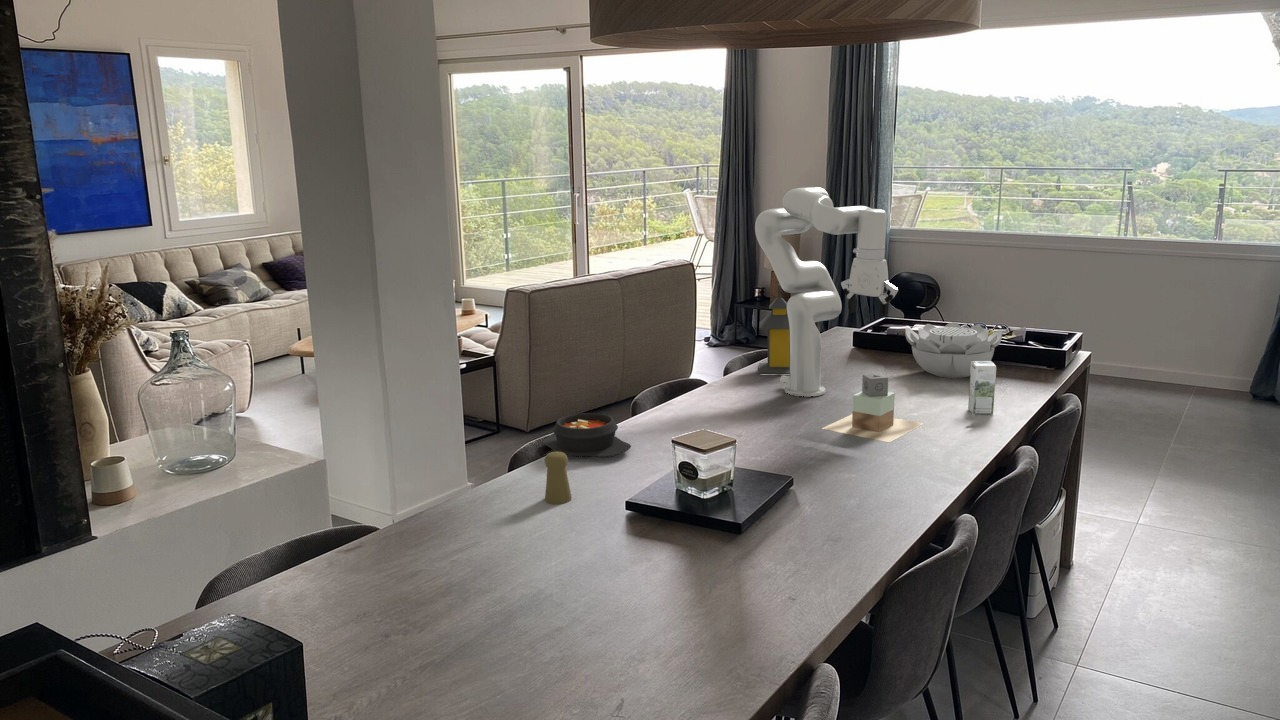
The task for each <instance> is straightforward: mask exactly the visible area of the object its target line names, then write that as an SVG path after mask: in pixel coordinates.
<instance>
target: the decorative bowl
mask: <svg viewBox="0 0 1280 720" xmlns="http://www.w3.org/2000/svg"><path fill="white" fill-rule="evenodd" d="M904 333H905V334H904V335H905V339H906V341H907V342H908V343H909V344H910V346H911V350H912V355H913V356H912V357H913V358H914V360H915V362H916V363H917V365H918V366H919V367H921V368H922V369H923V370H924V371H926V372H927V373H930V374H931V375H934V376H937V377H940V378H946V379H963V378H968V377H970V368H971V361H991V362H992V359H993V356H994V354H995V353H994V352H995V348H996V347H998V346H999V345H1000V343H1002V339H1003V329H998V330H996V331H995V332H993V333H991V334H990V335H989V333H990V332H989V329H984V328H983V326H981V325H980V324H977V325H973V326H971V327H969V328H967V327H962V326H961V325H960V324H959V323H957V322H954V321H952V322H949V323H947V324H945V326H941V327H936V326H935V325H933V324H930V323H927V324H925V325H924V326H923V327H922V328H921V327H918V332H915V331H914V330H913V329H911V328H910V327H907V326H905V332H904Z"/></svg>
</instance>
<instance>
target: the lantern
mask: <svg viewBox="0 0 1280 720" xmlns="http://www.w3.org/2000/svg"><path fill="white" fill-rule="evenodd" d="M787 303H788V301H786V300H785V299H784V298H783V297H782V287H781V285H780V283H778V284H777V297H776V298H775V299H774V300H773V301H772V302H770V304H769V306H768V309H769V310H770V309H771V311H770V312H769V313H768V314H767V315H766V316H765V317H764V318H763V319H762V320H760V321H759V326H758V328H759V329H760V330H767V362H759V363H758V375H759V374H790V327H789V320H788V314H787Z"/></svg>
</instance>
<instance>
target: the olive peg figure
mask: <svg viewBox="0 0 1280 720" xmlns="http://www.w3.org/2000/svg"><path fill="white" fill-rule="evenodd" d="M568 462H569V459H568V455H566V454H565V453H563V452H555V451H551V452H549V453H547V454H546V455H545V457H544V465H545V467H546V468H547V471H546V482H545V484H546V485H545V495H544V501H545V502H546V503H548V504H551V505H562V504H567V503H569V502H570V501H572V493H571V488H570V484H569V478H568V472H567V471H568V470H567V468H566V467H567V465H568Z"/></svg>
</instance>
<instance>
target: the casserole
mask: <svg viewBox="0 0 1280 720" xmlns="http://www.w3.org/2000/svg"><path fill="white" fill-rule="evenodd" d="M618 429H619V426H618V425H617V423H616V421H615V420H614V418H613V417H612V416H611V415H609V414H605V413H599V412H597V413H596V412H581V413H574V414H572V413H571V414H569V415H565V416H562V417H560V418H558V419H557V420H556V422H555V426H554V427H552V433H553V434H552V435H550V436H548V437H546V438H545V439H544V440H543V441H542V442H541V443H542V445H544V446H546V447H548V448H549V449H551V451H552V452H563V453H565V454H566V456H567V457H571V458H572V457H573V458H593V457H594V458H610V457H615V456H618V455H622V454H623V453H625V452H627V451H629V450H630V449H631V447H632V445H631V444H630V443H628V442H627V441H624V440H621V439H620V438H618V437H617V436H616V432H617V431H618Z"/></svg>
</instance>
